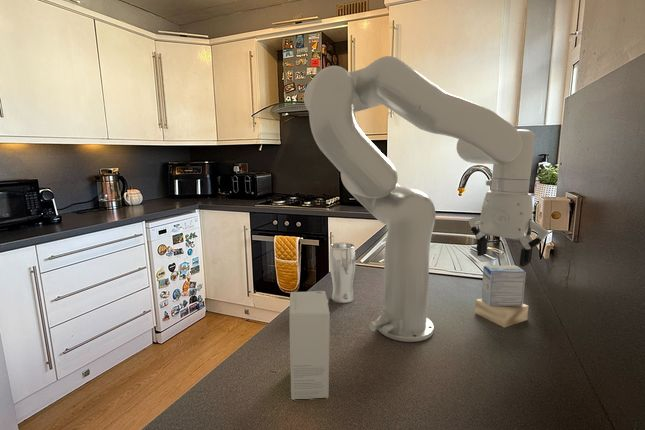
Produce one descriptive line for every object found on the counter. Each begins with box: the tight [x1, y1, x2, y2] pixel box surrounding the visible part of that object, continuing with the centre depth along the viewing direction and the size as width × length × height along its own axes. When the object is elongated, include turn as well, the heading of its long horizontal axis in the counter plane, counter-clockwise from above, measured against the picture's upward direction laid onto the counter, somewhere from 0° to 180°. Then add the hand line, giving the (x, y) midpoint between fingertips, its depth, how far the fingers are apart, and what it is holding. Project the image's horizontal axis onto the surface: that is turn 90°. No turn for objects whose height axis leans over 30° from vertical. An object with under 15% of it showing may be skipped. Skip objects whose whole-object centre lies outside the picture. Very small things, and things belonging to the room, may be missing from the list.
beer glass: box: [328, 241, 356, 304], centre depth 94 cm, size 7×7×15 cm
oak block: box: [474, 297, 529, 329], centre depth 84 cm, size 8×8×4 cm
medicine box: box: [481, 264, 527, 306], centre depth 82 cm, size 8×4×9 cm, turn 88°
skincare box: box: [289, 290, 331, 400], centre depth 59 cm, size 8×7×16 cm
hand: (501, 259), depth 81 cm, fingers open, 9 cm apart
